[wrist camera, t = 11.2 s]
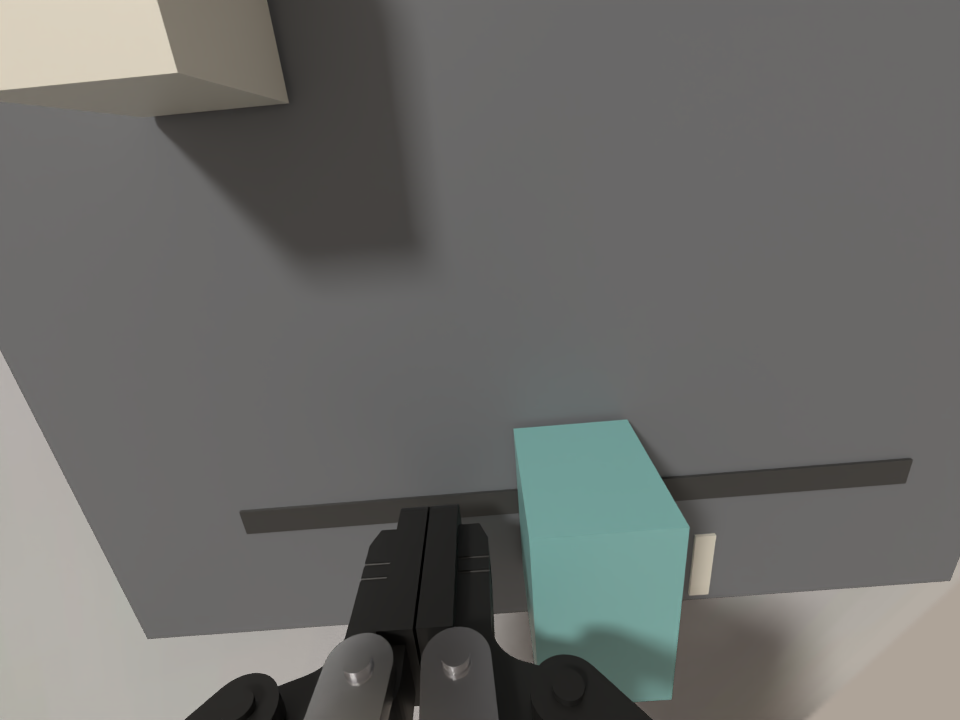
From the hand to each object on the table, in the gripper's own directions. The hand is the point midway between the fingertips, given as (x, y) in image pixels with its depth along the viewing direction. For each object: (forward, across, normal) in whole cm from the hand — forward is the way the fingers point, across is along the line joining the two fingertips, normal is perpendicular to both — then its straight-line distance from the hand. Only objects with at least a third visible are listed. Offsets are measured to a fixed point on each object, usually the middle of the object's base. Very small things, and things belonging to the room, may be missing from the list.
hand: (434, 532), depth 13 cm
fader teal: (+1, -4, 0) cm, 4 cm away
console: (+4, -3, -6) cm, 8 cm away
